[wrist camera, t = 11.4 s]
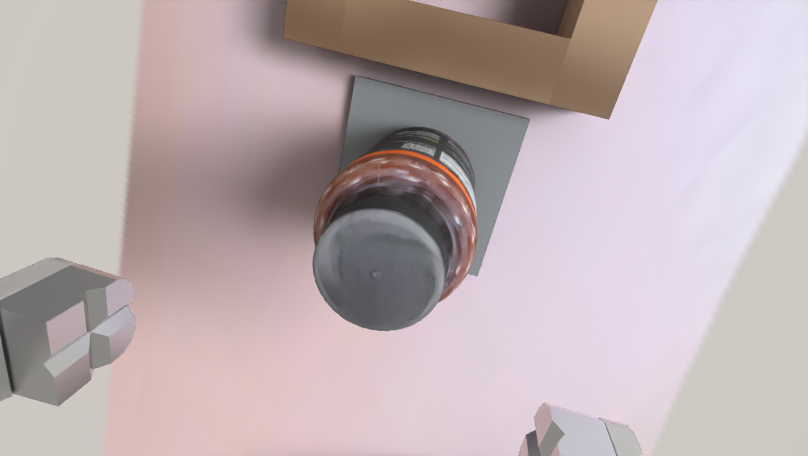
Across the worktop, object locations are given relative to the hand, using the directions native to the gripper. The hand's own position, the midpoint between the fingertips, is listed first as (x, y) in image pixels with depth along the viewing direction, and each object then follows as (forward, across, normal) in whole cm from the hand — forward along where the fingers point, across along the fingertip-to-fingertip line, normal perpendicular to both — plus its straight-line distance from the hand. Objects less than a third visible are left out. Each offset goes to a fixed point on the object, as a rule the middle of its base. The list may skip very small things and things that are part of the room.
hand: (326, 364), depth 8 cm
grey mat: (+16, 0, +1) cm, 16 cm away
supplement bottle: (+16, 0, 0) cm, 16 cm away
